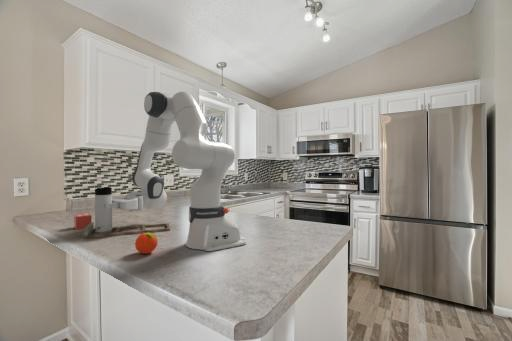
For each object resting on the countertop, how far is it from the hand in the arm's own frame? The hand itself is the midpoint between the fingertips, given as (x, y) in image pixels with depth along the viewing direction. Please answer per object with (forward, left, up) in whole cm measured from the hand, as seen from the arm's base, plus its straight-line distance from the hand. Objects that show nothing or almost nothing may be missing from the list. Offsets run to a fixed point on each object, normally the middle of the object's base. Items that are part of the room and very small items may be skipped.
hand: (101, 205), depth 107 cm
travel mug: (-1, 0, -12) cm, 12 cm away
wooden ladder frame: (-11, 0, -12) cm, 17 cm away
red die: (+10, -16, -12) cm, 23 cm away
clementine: (-19, +34, -13) cm, 41 cm away
